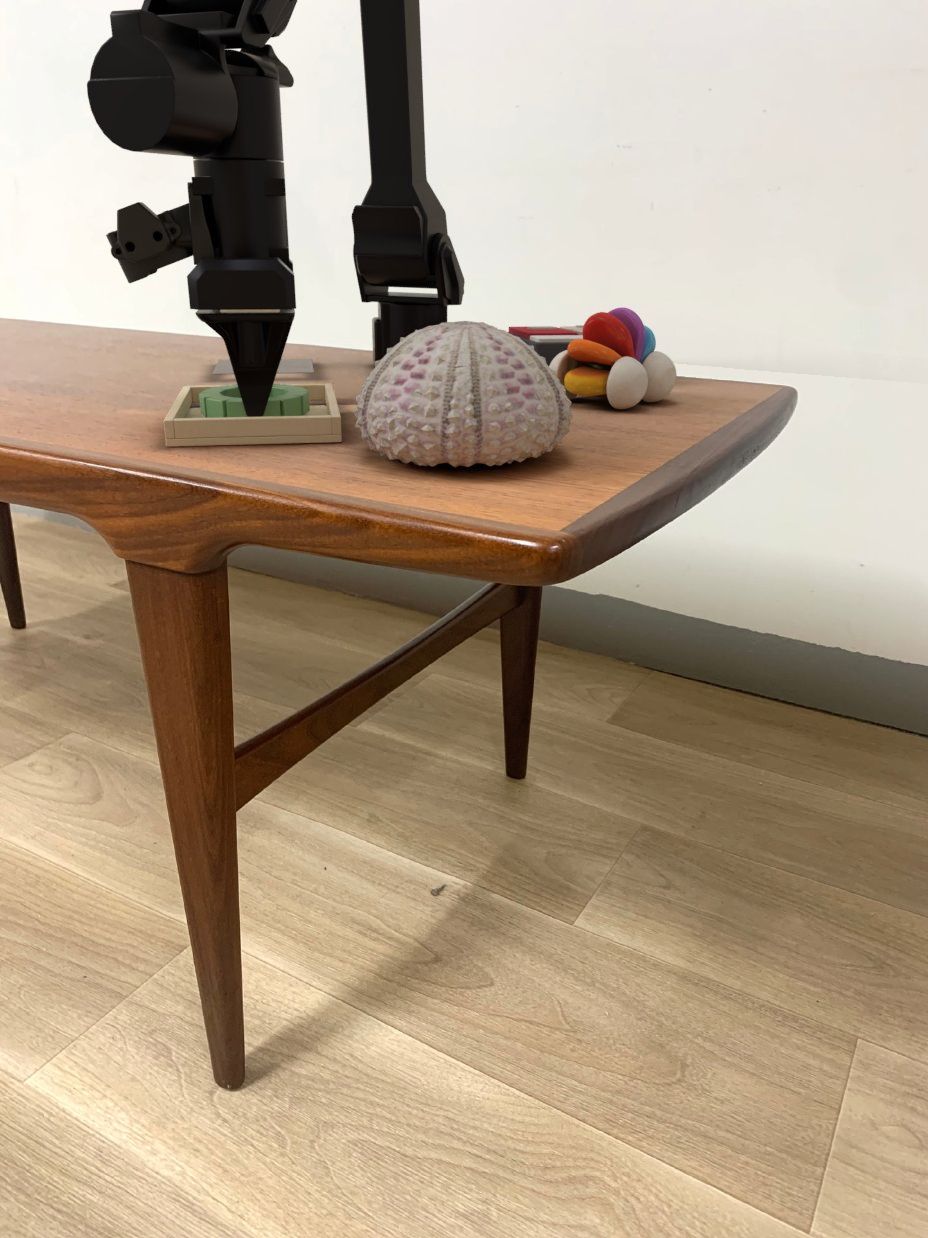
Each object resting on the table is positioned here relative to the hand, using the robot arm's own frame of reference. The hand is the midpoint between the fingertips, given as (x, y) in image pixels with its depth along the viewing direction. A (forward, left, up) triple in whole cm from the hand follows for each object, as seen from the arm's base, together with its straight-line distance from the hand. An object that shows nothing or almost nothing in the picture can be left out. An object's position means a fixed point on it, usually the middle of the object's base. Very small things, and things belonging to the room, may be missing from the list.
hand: (256, 405), depth 67 cm
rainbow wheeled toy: (-28, -6, -2) cm, 29 cm away
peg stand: (0, -24, -1) cm, 24 cm away
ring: (0, 0, 0) cm, 0 cm away
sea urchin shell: (-13, +11, -2) cm, 17 cm away
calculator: (-29, -21, -2) cm, 36 cm away
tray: (0, 0, -1) cm, 1 cm away
